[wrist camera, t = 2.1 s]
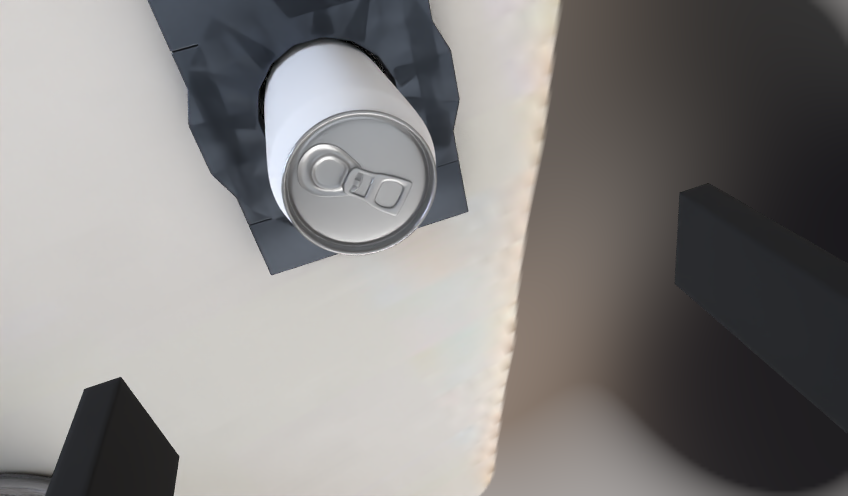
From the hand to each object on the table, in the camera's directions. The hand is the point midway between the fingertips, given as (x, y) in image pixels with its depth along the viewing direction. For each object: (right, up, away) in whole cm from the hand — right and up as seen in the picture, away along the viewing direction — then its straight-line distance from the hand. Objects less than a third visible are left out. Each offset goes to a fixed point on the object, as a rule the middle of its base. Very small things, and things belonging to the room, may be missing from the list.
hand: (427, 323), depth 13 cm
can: (-5, +10, +17) cm, 20 cm away
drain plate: (-5, +10, +17) cm, 20 cm away
